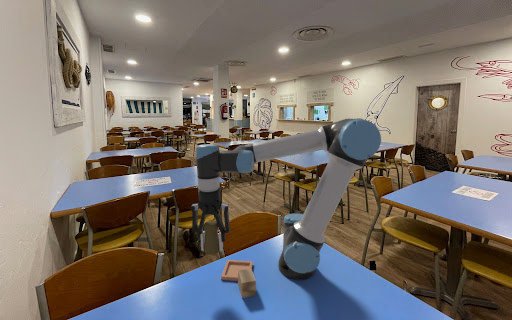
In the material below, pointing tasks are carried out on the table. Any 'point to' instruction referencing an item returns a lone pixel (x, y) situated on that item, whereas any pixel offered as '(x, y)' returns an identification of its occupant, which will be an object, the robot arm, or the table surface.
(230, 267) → the terracotta dish
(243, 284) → the oak block
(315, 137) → the robot arm
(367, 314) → the table surface
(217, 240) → the cork
